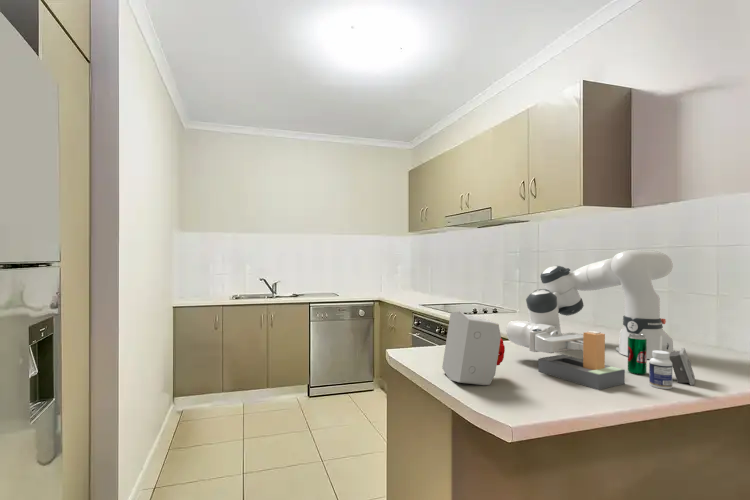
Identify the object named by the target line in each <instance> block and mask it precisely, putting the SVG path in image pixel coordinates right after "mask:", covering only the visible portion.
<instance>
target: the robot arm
mask: <svg viewBox="0 0 750 500" xmlns="http://www.w3.org/2000/svg"><path fill="white" fill-rule="evenodd" d="M673 267H674V266H673V261H672V259H671V257H670V256H669V255H668V254H667V253H666V254H665V253H663V252H660V251H657V250H643V249H641V250H640V249H629V250H628V249H627V250H624V251H621V252H618V253H616V254H615V255H614V256H613V257H611V258H607V259H603V260H598V261H595V262H592V263H589V264H586V265H584V266H580V267H579V268H577V269H575V270H573V271H571V269H570V268H567V267H564V266H561V265H554V266H548V267H547V268H546V269H544V270H543V271H542V272H541V274H540V281H541V283H542V284H543V286H544V288H542V289H541V288H540V289H536V290H533V292H532V293H529V294H528V296H527V297H526V299H525V302H526V306H527V311H528V317H529V321H528V320H518V319H516V320H511V321H509V322H508V323H507V326H506V336H507V339H508V341H510V342H511V343H513V344H515V345H518V346H521V347H523V348H527V349H529V351H530V352H532V353H545V354H546V353H547V354H554V353H559V352H567V351H573V350H577V351H578V350H579V351H583V333H579V332H565V333H562V331H561V323H560V322H561V321H560V316H559V315H561V316H565V317H566V316H567V317H568V316H573V315H577V314H578V313H579V312H581V311H582V309H583V308H584V306H585V305H584V302H583V299H582V297H581V296H580V293H579V291H583V292H585V291H587V292H589V291H590V292H591V291H597V290H603V289H604V290H605V289H609V288H613V287H617V286H621V288H622V291H623V299H624V300H623V301H624V302H623V303H624V307H623V308H624V314H623V316H622V326H623V327H622V328H621V329H620V331H619V340H618V346H616V347H615V351H617V352H619V354H621V355H624V356H626V357H628V336H629V334H642V335H645V337H646V339H647V360H650V359H651V358H653V356H652V351H654V350H659V351H666V352H669V355H670V353H671V352H676V351H677V350H674V340H673V338H672V337H671V336H670V335H669V334H668V333H667V332H666V331H665V330H664V329H663V325H665V324H666V323H667V319H666V318H662V317H661V318H660V314H661V313H660V310H661V309H660V306H661V303H660V302H661V301H660V296H659V294H658V293H657V292H656V290H655V289H654V286H653V283H652V281H654V280H655V281H656V280H658V279H662V278H665V277H667V276H668V275H670V274H671V273H672V270H673ZM668 359H669V360H670V358H668Z"/></svg>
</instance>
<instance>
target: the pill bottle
mask: <svg viewBox="0 0 750 500" xmlns="http://www.w3.org/2000/svg"><path fill="white" fill-rule="evenodd" d="M652 356H653V358H651V359H649V365H648V367H649V369H648V371H649V375H648V377H649V385H650V386H651V387H653V388H656V389H660V390H661V389H662V390H672V388H673V367H672V362H671V361H670V360H669V359H668V358H669V357H670V356H669V352H666V351H659V350H654V351H652Z"/></svg>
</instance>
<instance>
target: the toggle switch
mask: <svg viewBox="0 0 750 500" xmlns="http://www.w3.org/2000/svg"><path fill="white" fill-rule="evenodd" d="M537 359H538V360H537V361H538V363H537V365H538V368H537V371H538V372H539V373H542V374H545V375H549V376H552V377H556V378H559V379H562V380H564V381H565V380H566V381H569V382H571V383H575V384H579V385H582V386H586V387H588V388H590V389H591V388H592V389H594V390H597V391H599V390H604V389H609V388H611V387H612V388H613V387H617V386H620V385H625V383H626V382H625V377H626V374H625V373H626V372H625V369H623V368H620V367H615V366H612V365H611V366H610V365H608V364H607V365H606V364H605V368H602V369H596V370H591V369H587V368H584V367H583V359H582V358H578V357H575V356H572V355H567V354H557V355H552V356H551V355H550V356H543V357H539V358H537Z"/></svg>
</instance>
